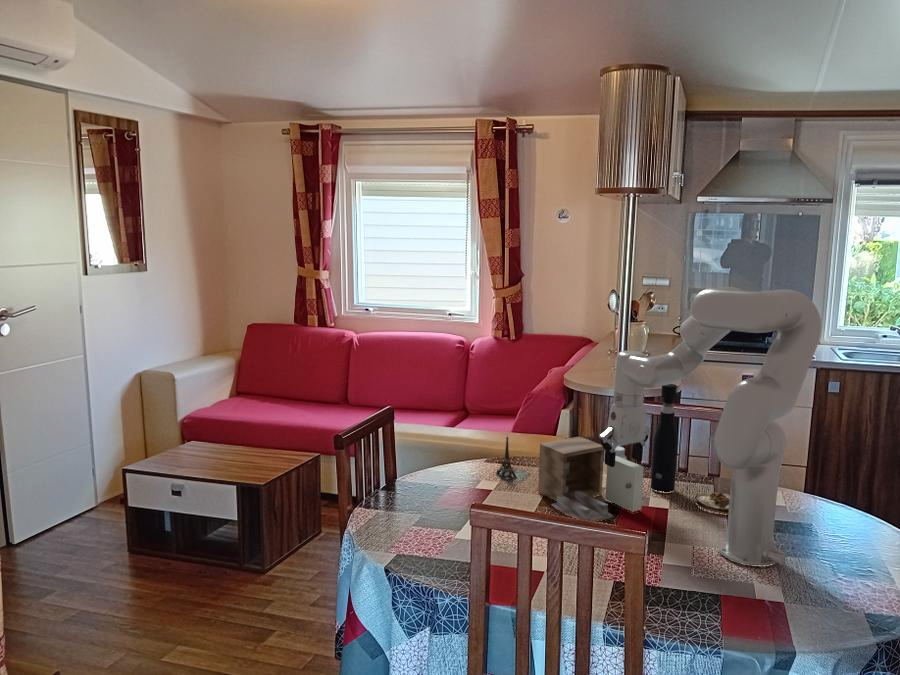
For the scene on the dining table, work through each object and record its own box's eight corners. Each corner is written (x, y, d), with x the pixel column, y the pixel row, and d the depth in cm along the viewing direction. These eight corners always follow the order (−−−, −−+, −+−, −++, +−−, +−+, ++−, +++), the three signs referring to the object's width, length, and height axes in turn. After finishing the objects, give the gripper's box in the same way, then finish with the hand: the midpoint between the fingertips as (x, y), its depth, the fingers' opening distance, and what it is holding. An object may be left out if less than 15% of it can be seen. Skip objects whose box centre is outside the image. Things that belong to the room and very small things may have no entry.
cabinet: (636, 512, 185) (640, 459, 183) (585, 525, 176) (587, 471, 174) (577, 484, 205) (579, 436, 202) (528, 495, 196) (529, 445, 193)
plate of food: (762, 517, 185) (764, 501, 184) (711, 522, 181) (713, 506, 180) (726, 495, 199) (727, 481, 198) (678, 500, 195) (679, 485, 194)
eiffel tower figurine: (512, 489, 201) (513, 443, 199) (479, 482, 206) (480, 437, 204) (533, 474, 214) (535, 430, 212) (503, 467, 219) (504, 425, 217)
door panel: (641, 511, 186) (643, 466, 184) (629, 514, 184) (632, 469, 182) (613, 498, 194) (615, 455, 193) (602, 501, 192) (604, 457, 190)
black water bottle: (671, 486, 204) (678, 382, 199) (676, 494, 198) (683, 388, 193) (648, 485, 205) (655, 381, 200) (652, 493, 198) (659, 387, 194)
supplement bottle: (624, 484, 205) (626, 452, 203) (605, 482, 207) (606, 449, 205) (626, 478, 210) (628, 446, 208) (607, 476, 212) (609, 444, 210)
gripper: (613, 406, 177) (608, 472, 181) (663, 399, 186) (657, 462, 189) (593, 399, 184) (588, 463, 187) (641, 392, 193) (636, 453, 196)
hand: (623, 462), depth 188 cm, fingers open, 9 cm apart
